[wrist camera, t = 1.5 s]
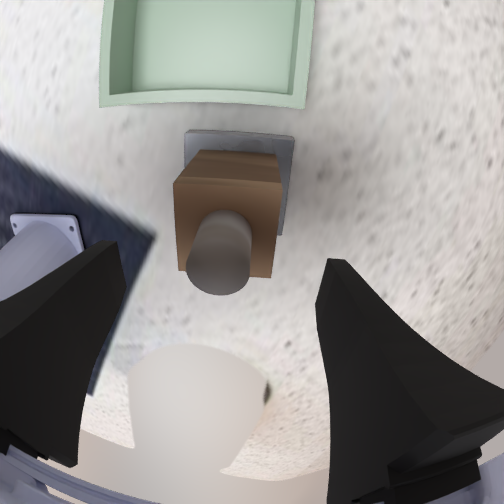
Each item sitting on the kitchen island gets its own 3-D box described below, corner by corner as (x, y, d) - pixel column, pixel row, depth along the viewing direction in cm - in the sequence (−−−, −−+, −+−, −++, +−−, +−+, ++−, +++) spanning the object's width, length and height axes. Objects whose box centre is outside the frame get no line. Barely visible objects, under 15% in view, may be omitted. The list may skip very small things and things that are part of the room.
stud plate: (280, 226, 19) (285, 272, 15) (190, 219, 19) (170, 263, 15) (292, 136, 16) (303, 158, 12) (189, 129, 16) (163, 150, 12)
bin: (295, 103, 15) (304, 109, 12) (127, 100, 15) (99, 107, 12) (308, -44, 9) (318, -67, 6) (138, -40, 9) (114, -57, 6)
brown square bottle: (268, 221, 18) (272, 318, 11) (199, 216, 18) (164, 308, 11) (276, 154, 16) (287, 220, 9) (200, 149, 15) (152, 211, 9)
